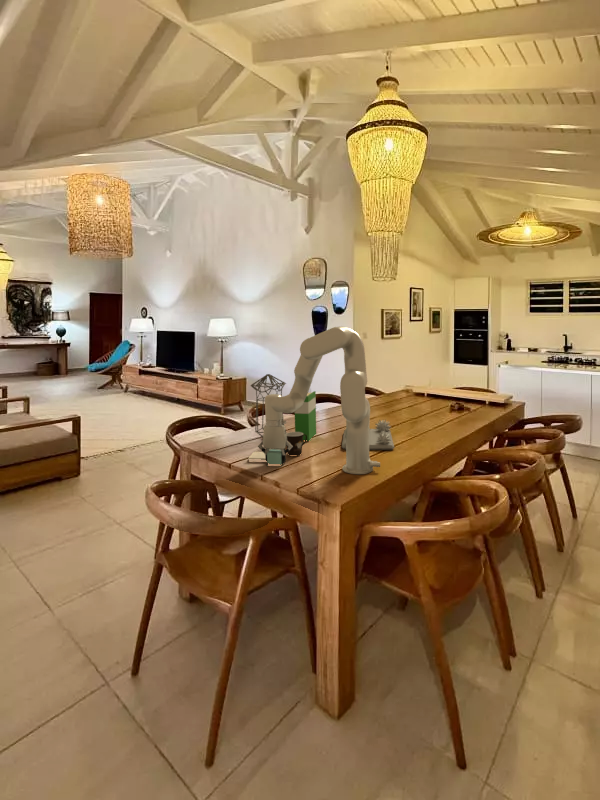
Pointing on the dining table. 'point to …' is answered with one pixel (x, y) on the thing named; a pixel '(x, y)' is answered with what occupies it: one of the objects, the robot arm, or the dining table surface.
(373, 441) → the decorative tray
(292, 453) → the coffee mug
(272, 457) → the block
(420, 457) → the dining table surface
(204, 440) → the dining table surface
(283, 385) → the geometric lantern
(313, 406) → the hardback book
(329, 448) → the dining table surface
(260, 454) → the coaster
